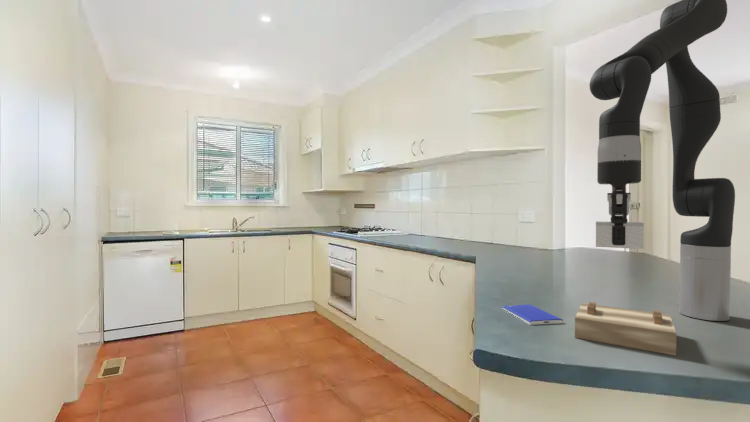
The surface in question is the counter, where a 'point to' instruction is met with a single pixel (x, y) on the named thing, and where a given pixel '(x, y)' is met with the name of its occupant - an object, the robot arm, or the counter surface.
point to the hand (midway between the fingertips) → (618, 243)
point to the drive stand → (626, 328)
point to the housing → (631, 235)
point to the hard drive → (532, 314)
